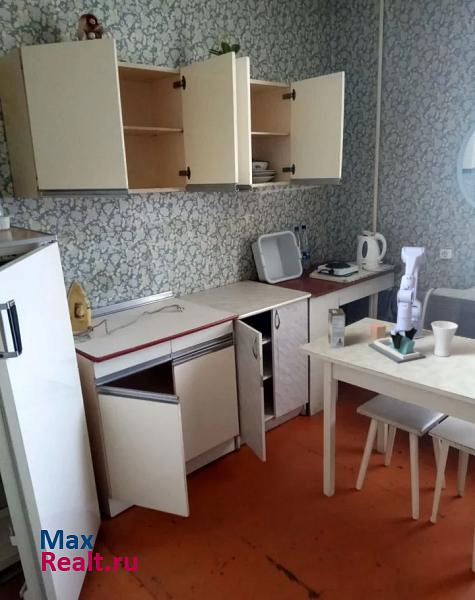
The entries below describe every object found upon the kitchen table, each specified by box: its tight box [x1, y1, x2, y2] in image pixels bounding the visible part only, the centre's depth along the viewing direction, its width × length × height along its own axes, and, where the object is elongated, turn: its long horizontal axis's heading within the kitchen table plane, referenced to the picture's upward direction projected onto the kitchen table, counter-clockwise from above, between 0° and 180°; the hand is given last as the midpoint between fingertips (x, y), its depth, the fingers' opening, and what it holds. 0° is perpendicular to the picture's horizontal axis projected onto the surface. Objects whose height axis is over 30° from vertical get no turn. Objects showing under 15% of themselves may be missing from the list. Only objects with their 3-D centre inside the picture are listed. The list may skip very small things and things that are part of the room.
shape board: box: [368, 337, 427, 364], centre depth 205 cm, size 14×21×2 cm, turn 19°
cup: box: [430, 320, 459, 358], centre depth 199 cm, size 10×10×14 cm
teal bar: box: [390, 334, 416, 355], centre depth 201 cm, size 4×8×6 cm, turn 33°
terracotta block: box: [369, 322, 387, 340], centre depth 223 cm, size 5×5×6 cm
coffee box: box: [327, 308, 346, 348], centre depth 215 cm, size 9×6×16 cm
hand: (402, 346), depth 201 cm, fingers open, 7 cm apart
